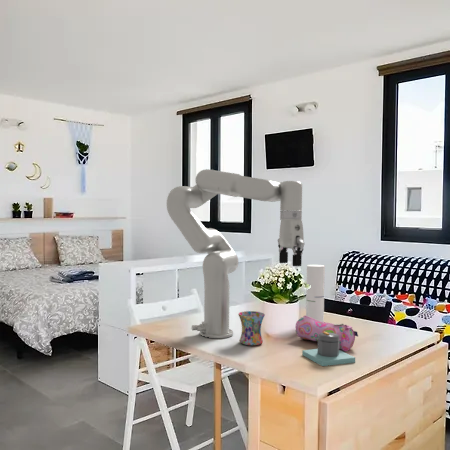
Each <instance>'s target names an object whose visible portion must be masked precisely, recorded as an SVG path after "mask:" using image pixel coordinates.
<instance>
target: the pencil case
mask: <svg viewBox="0 0 450 450" xmlns="http://www.w3.org/2000/svg"><path fill="white" fill-rule="evenodd" d="M323 332H327V333H335V334H337V335H339V340H340V342H339V350H341V351H343V352H349V350H351V349H352V348H353V345H354V343H355V340H356V337H359V334H358V331H356V330H354V329H353V326H351V325H347V324H344V323H331V322H327V321H326V322H321V321H318V320H315V319H313V318H311V317H308V316H306V315H303V317H300V318H298V320H297V321H296V323H295V333H296V335H297V337H299V338H300V339H301V340H307V341H309V340H310V341H313V342H318V339H319V334H320V333H323Z"/></svg>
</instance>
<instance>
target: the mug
mask: <svg viewBox="0 0 450 450" xmlns="http://www.w3.org/2000/svg"><path fill="white" fill-rule="evenodd" d="M265 315H266V314H265V313H264V312H261V311H257V310H256V311H254V310H250V311H249V310H246V311H240V312H238V317H239V319H240V322H241V335H240V337H239V340H238V341H239V343H241V344H242V345H244V346H258V345H261V344H263V342H264V340H263V337H262V323H263V320H264V318H265Z"/></svg>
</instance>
